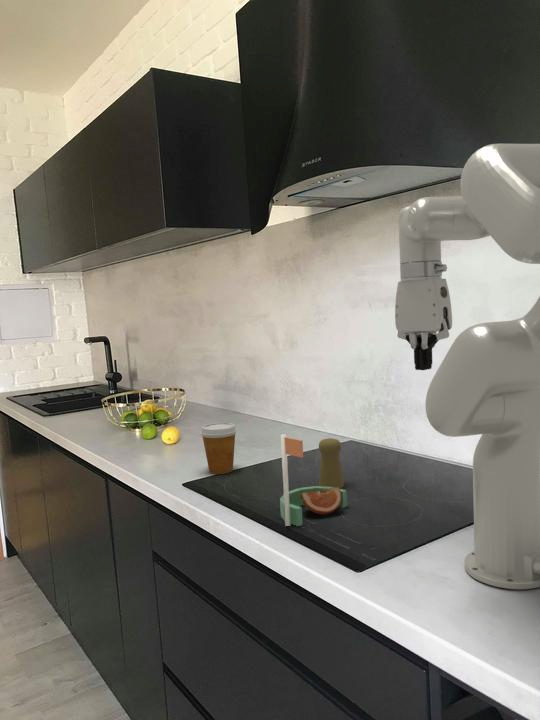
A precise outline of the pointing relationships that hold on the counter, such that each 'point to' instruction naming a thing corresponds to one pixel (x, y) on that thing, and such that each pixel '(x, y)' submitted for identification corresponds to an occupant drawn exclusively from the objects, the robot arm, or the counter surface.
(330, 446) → the cork
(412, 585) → the counter surface
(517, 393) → the robot arm
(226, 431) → the disposable coffee cup
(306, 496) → the fruit slice
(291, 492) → the green segmented arc
